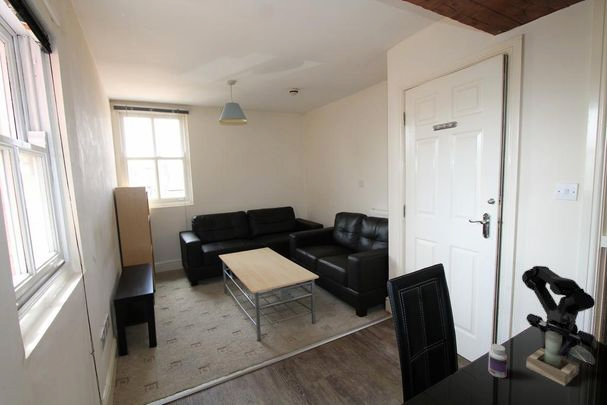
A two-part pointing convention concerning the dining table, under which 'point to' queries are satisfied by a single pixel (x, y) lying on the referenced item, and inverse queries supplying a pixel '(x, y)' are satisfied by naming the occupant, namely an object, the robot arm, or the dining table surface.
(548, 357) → the peg
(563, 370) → the holder
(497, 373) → the pill bottle
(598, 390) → the dining table surface
